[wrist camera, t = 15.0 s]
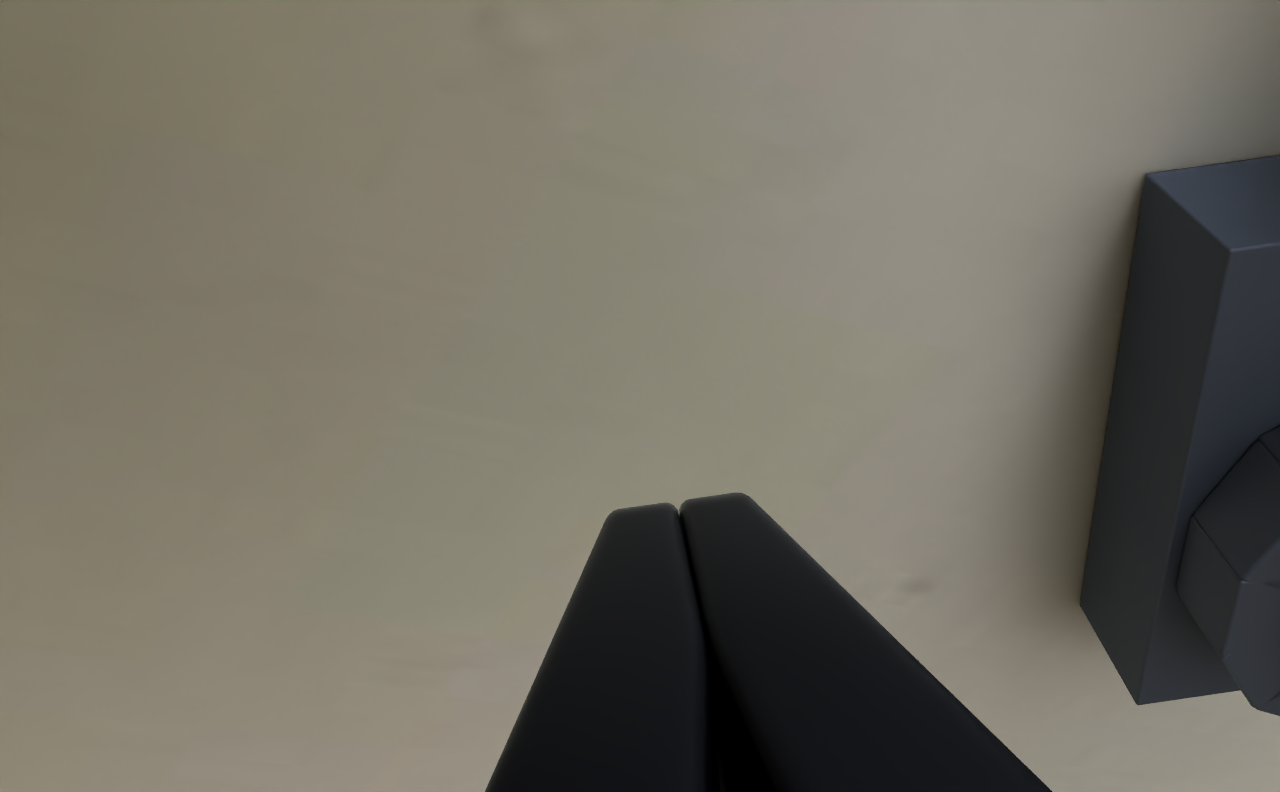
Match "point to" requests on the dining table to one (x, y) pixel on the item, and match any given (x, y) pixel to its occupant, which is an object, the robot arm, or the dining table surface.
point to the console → (1195, 445)
